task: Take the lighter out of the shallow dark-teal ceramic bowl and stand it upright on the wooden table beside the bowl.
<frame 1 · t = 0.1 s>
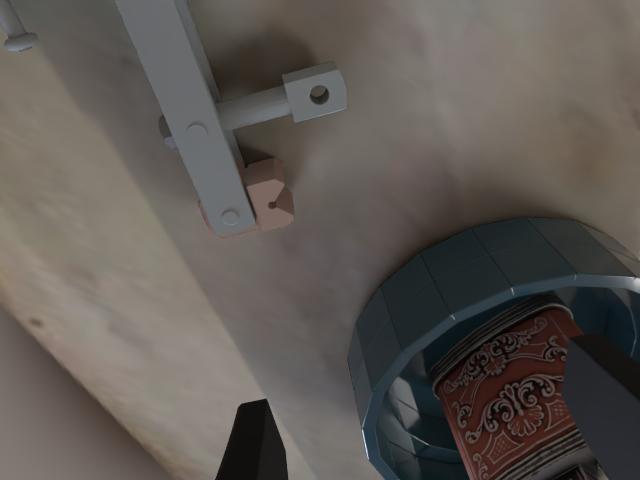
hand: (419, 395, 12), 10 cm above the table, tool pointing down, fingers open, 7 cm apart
lighter: (492, 342, 25), resting on bowl
clamp: (169, 14, 16), on the table
bowl: (491, 340, 25), on the table
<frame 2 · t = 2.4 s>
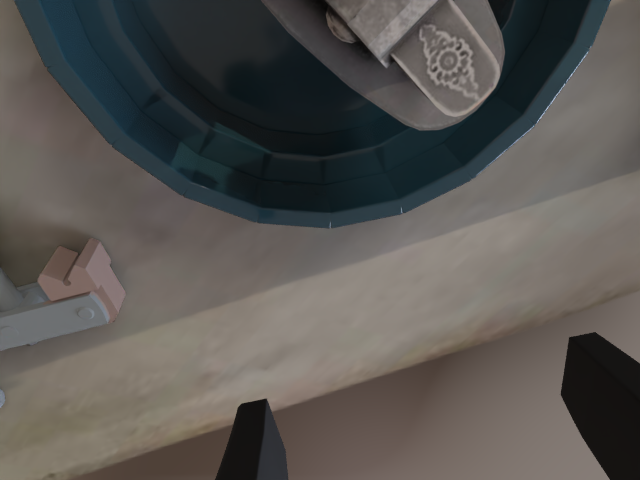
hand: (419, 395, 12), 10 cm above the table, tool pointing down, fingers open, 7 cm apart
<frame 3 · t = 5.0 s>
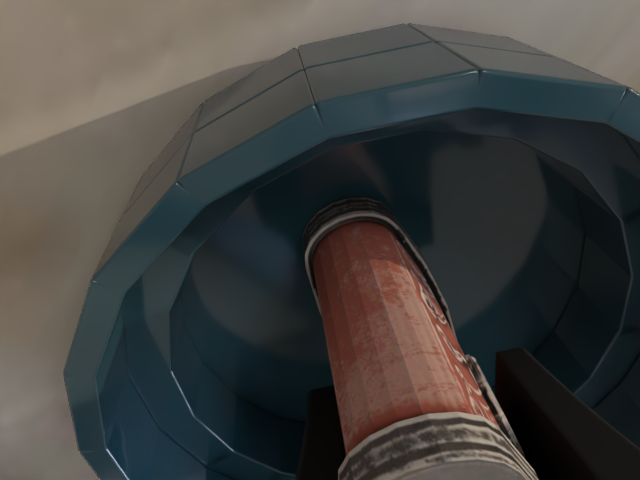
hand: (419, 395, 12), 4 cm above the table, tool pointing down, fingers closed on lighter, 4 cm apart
lighter: (383, 303, 15), resting on bowl, touching gripper
bowl: (384, 293, 15), on the table
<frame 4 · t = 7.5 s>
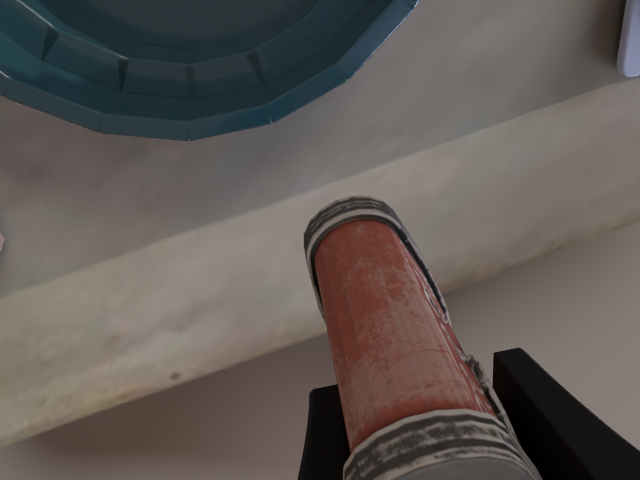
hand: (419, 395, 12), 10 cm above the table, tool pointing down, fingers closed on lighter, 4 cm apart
lighter: (382, 303, 15), point 7 cm above the table, touching gripper
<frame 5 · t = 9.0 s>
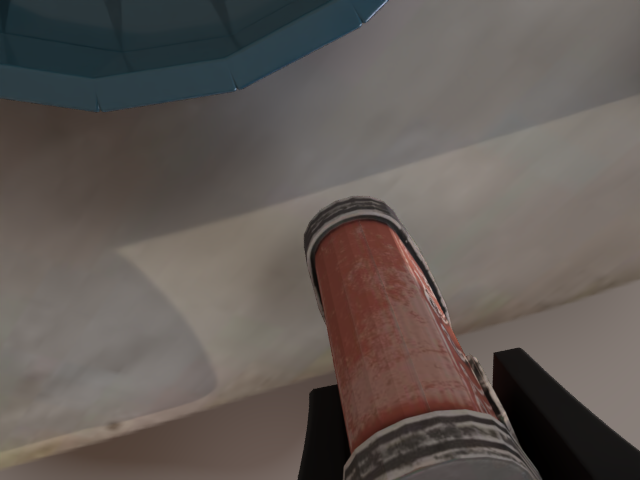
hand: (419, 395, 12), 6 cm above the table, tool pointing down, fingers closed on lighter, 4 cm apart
lighter: (382, 303, 15), point 2 cm above the table, touching gripper
when the fingers open (4 cm above the table, at t = 10.1 s): lighter stays where it is, on the table.
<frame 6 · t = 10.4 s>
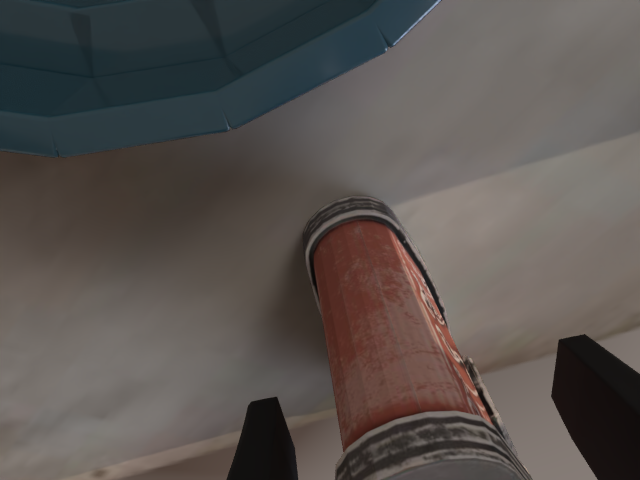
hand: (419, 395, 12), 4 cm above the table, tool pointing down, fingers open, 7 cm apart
lighter: (381, 302, 15), on the table
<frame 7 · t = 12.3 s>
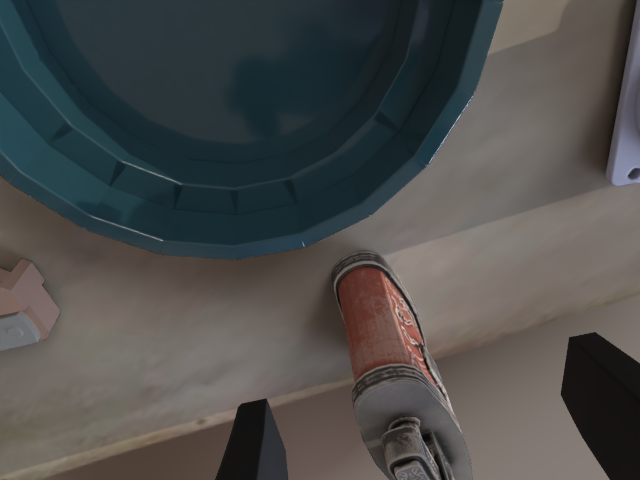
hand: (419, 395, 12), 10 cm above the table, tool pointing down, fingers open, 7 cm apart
lighter: (379, 311, 24), on the table
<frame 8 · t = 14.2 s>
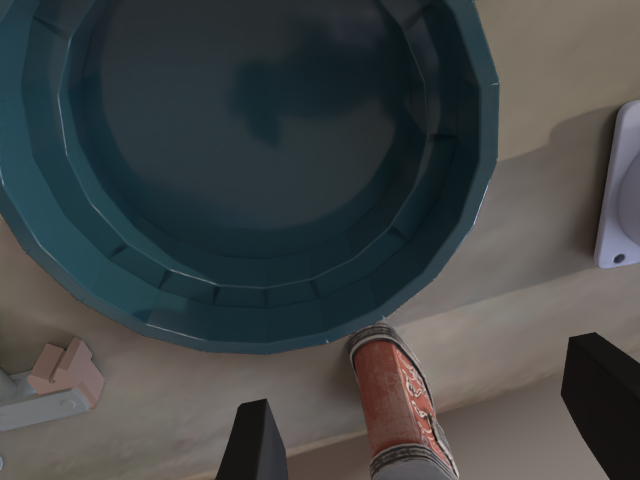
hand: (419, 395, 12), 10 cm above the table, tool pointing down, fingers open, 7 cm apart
lighter: (391, 372, 27), on the table
bowl: (253, 122, 18), on the table
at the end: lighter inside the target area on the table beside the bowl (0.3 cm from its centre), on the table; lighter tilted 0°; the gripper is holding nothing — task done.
